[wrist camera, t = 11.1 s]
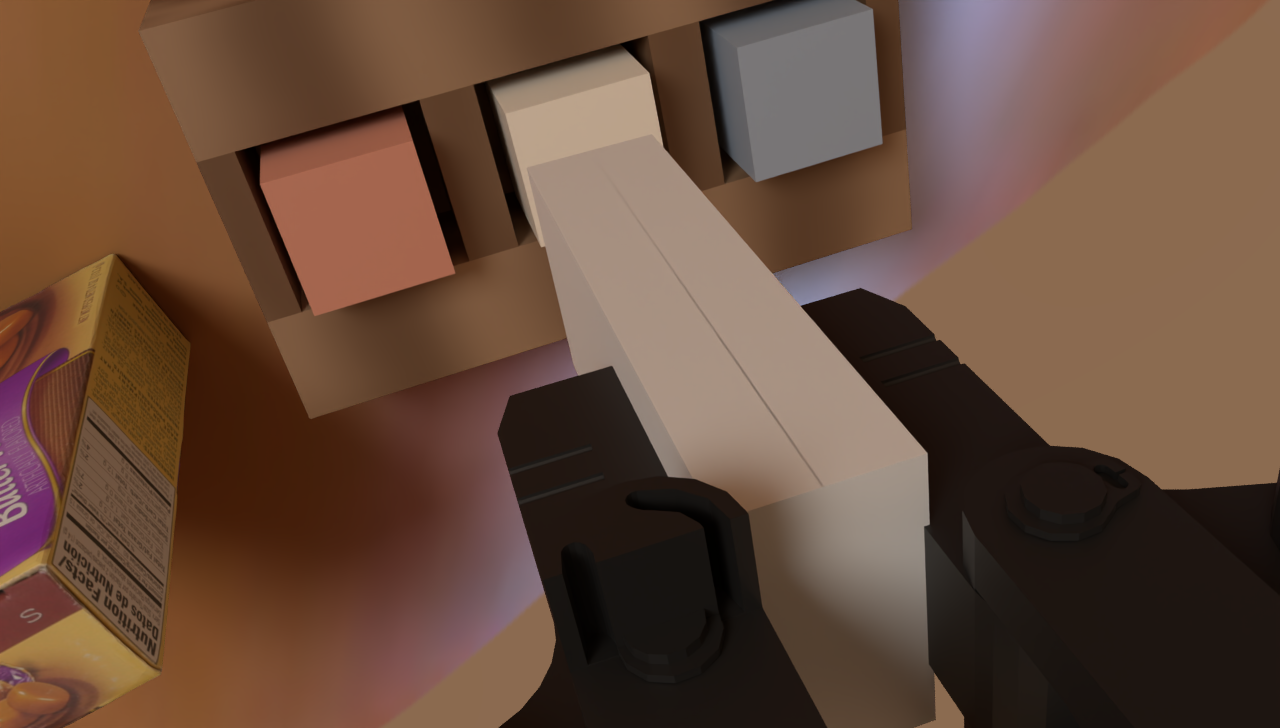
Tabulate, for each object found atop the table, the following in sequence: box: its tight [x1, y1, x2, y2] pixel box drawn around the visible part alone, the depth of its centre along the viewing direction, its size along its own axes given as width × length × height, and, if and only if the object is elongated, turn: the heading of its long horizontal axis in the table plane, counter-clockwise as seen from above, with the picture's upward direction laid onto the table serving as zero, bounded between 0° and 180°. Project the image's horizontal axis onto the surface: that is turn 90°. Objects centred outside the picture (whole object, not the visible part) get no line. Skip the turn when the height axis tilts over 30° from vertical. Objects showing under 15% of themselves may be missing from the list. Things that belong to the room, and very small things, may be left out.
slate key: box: [699, 0, 883, 182], centre depth 33 cm, size 4×4×4 cm
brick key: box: [260, 105, 455, 316], centre depth 31 cm, size 4×4×4 cm
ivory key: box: [484, 44, 663, 247], centre depth 32 cm, size 4×4×4 cm
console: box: [139, 0, 912, 419], centre depth 34 cm, size 20×12×5 cm, turn 101°
